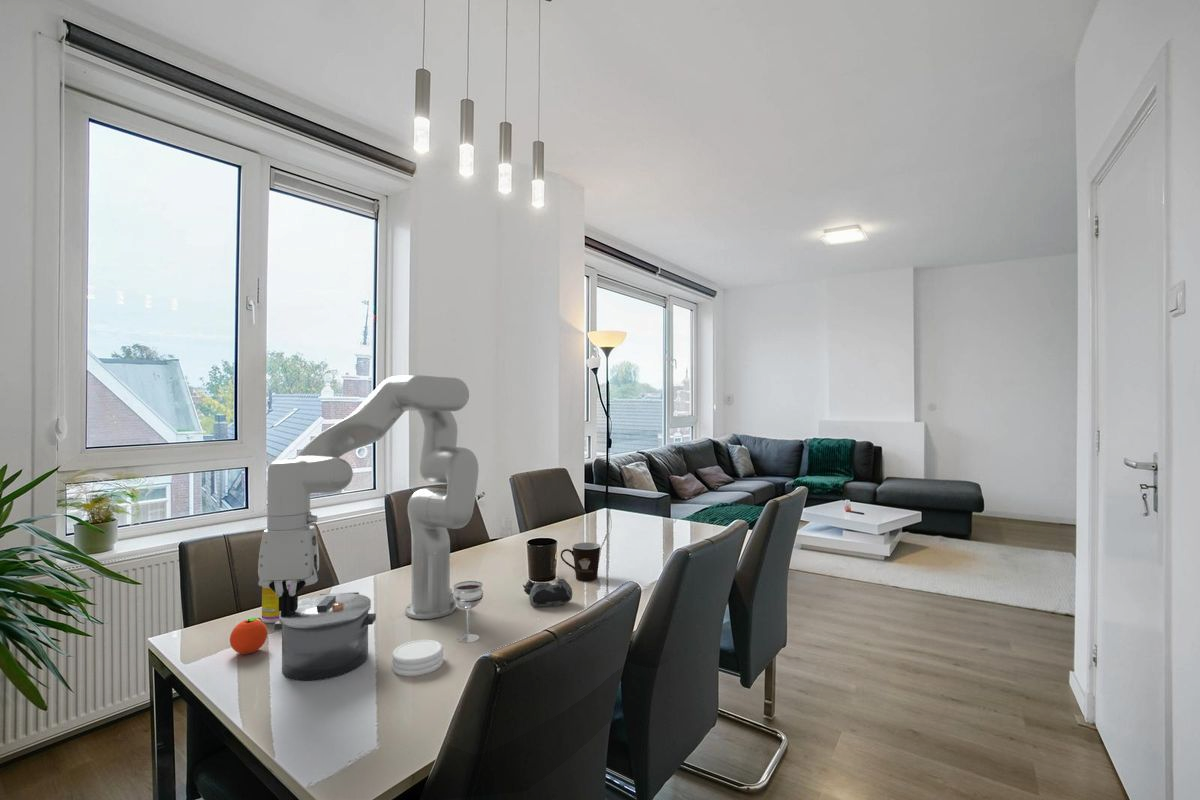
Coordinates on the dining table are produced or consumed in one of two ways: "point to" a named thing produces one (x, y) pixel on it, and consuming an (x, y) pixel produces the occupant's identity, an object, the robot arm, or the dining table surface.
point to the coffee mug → (585, 560)
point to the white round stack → (417, 657)
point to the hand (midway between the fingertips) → (288, 614)
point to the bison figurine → (548, 593)
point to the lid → (327, 610)
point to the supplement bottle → (270, 605)
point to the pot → (324, 649)
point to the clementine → (248, 636)
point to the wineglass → (468, 603)
